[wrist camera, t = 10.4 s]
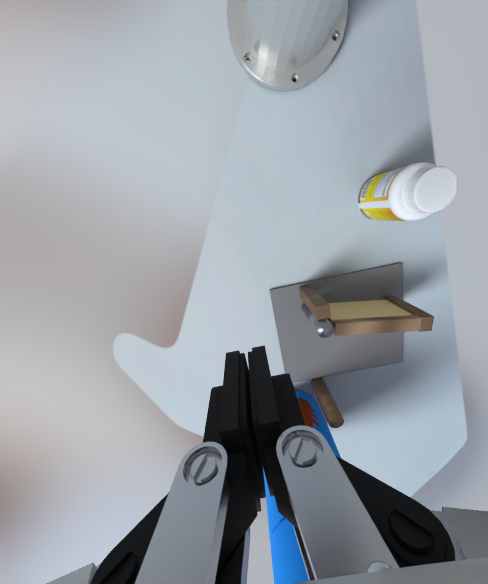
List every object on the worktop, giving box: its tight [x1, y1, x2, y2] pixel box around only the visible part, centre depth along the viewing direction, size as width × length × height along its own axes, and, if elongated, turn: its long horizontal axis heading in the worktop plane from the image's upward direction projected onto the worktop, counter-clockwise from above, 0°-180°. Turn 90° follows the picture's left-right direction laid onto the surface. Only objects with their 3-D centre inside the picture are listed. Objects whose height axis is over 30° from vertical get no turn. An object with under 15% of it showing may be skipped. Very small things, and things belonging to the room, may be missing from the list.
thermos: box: [263, 390, 341, 584], centre depth 31 cm, size 11×11×25 cm
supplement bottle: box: [357, 162, 458, 221], centre depth 27 cm, size 6×6×10 cm
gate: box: [301, 296, 434, 338], centre depth 32 cm, size 14×2×8 cm, turn 93°
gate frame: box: [270, 263, 403, 428], centre depth 34 cm, size 18×19×8 cm
